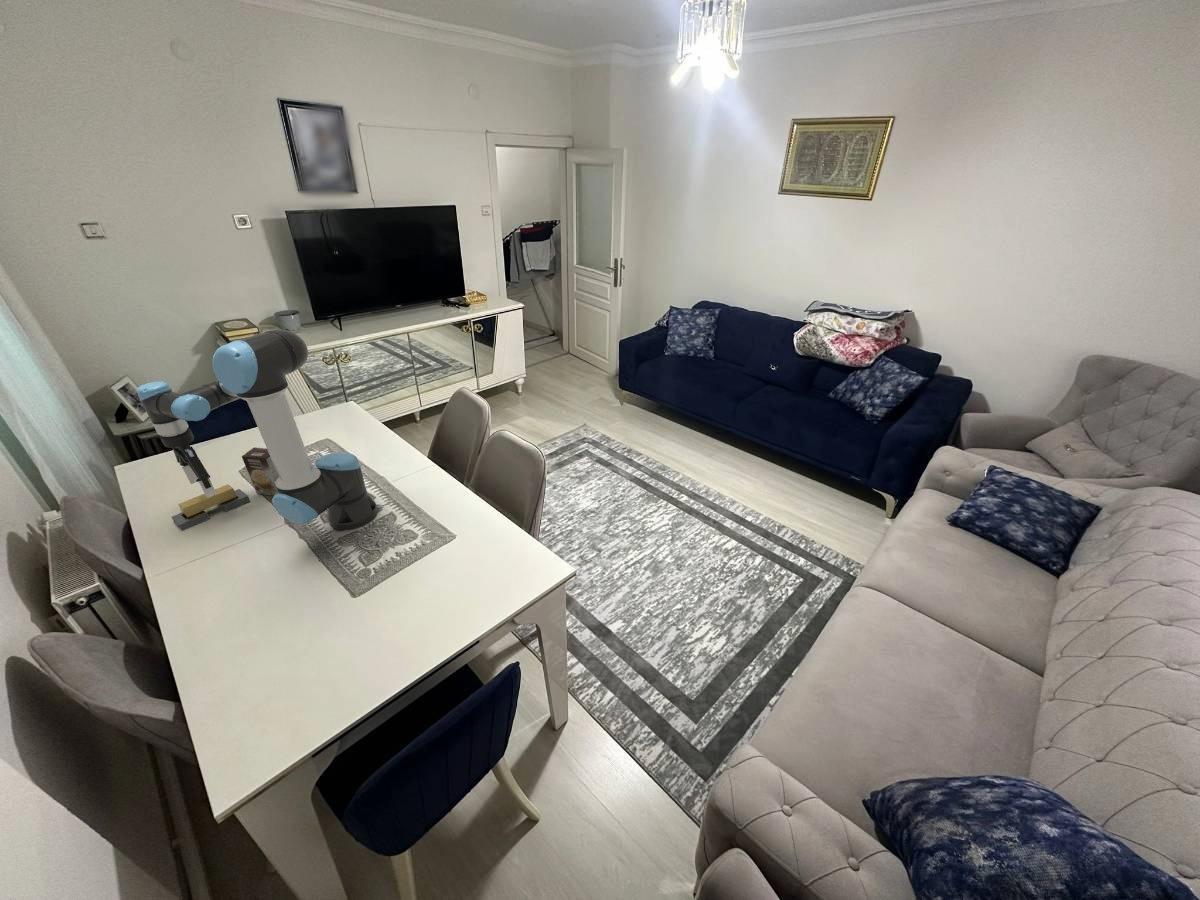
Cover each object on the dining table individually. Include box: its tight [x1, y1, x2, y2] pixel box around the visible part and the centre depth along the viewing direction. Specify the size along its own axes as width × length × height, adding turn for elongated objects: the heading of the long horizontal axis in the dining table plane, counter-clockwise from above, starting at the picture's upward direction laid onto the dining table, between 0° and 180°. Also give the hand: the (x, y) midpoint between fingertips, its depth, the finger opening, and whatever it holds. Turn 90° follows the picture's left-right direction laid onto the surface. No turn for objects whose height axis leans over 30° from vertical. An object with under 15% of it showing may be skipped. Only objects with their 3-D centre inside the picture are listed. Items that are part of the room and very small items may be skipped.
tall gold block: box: [177, 483, 237, 520], centre depth 161 cm, size 4×14×6 cm, turn 144°
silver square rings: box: [171, 488, 251, 531], centre depth 162 cm, size 7×20×2 cm, turn 144°
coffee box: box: [241, 447, 279, 497], centre depth 170 cm, size 9×6×16 cm
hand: (203, 488), depth 158 cm, fingers open, 13 cm apart
